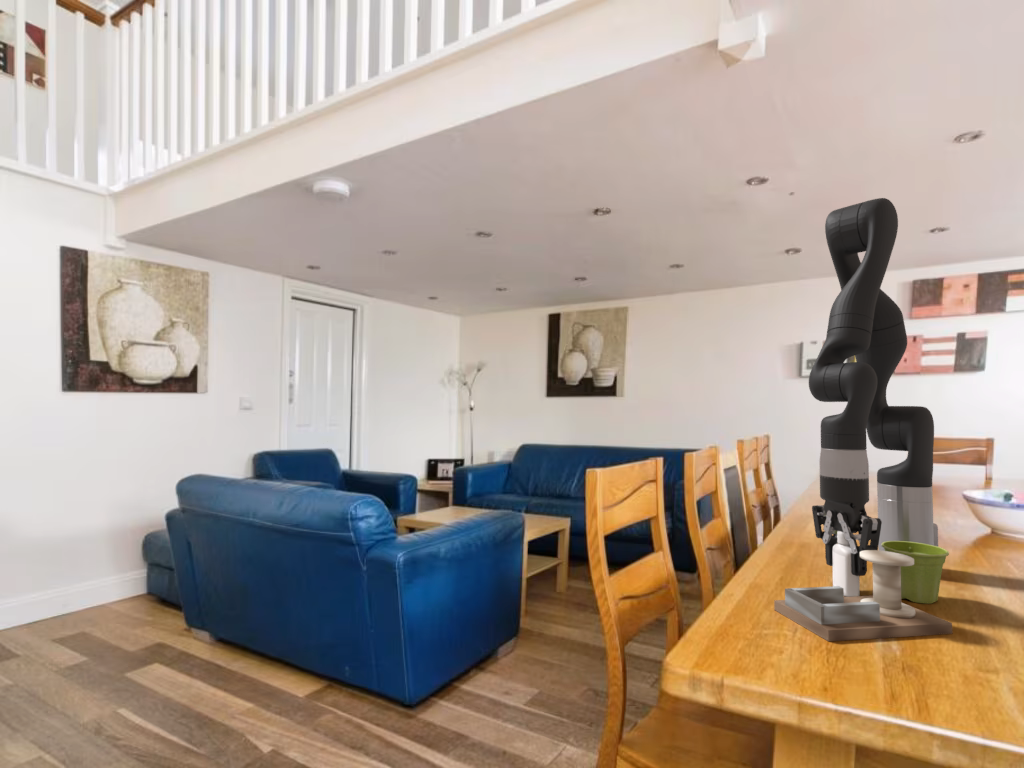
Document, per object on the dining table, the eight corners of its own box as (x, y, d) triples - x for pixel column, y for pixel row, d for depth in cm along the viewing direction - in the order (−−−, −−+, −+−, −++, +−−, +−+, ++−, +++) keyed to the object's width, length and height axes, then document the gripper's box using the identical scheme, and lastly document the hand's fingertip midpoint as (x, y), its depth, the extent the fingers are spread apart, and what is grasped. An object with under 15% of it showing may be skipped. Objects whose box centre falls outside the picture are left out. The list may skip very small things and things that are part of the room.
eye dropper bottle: (829, 594, 96) (828, 525, 96) (833, 586, 100) (833, 520, 101) (858, 599, 93) (857, 528, 93) (862, 591, 97) (861, 523, 98)
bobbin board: (884, 604, 91) (882, 545, 91) (952, 633, 79) (950, 565, 80) (774, 609, 88) (773, 548, 88) (828, 641, 76) (827, 570, 76)
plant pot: (963, 610, 89) (961, 556, 89) (898, 605, 90) (897, 552, 91) (931, 591, 98) (929, 542, 98) (872, 587, 100) (871, 539, 100)
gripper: (896, 479, 91) (898, 582, 90) (833, 469, 105) (834, 558, 104) (856, 479, 90) (858, 583, 89) (797, 469, 104) (798, 559, 103)
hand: (845, 569), depth 97 cm, fingers closed on eye dropper bottle, 5 cm apart
